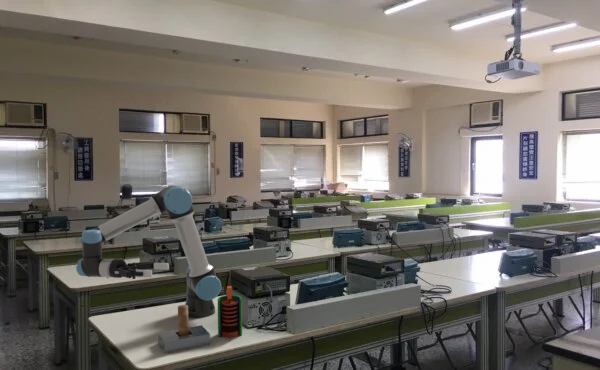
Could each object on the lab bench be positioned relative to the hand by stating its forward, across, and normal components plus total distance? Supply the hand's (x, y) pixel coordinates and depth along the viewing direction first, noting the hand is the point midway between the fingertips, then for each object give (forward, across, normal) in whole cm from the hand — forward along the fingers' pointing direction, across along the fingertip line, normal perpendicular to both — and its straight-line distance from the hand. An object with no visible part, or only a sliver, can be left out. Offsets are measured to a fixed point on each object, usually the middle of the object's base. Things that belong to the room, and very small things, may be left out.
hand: (160, 270), depth 196 cm
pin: (+10, 0, -29) cm, 31 cm away
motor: (+24, -14, -30) cm, 41 cm away
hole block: (+10, 0, -30) cm, 31 cm away
